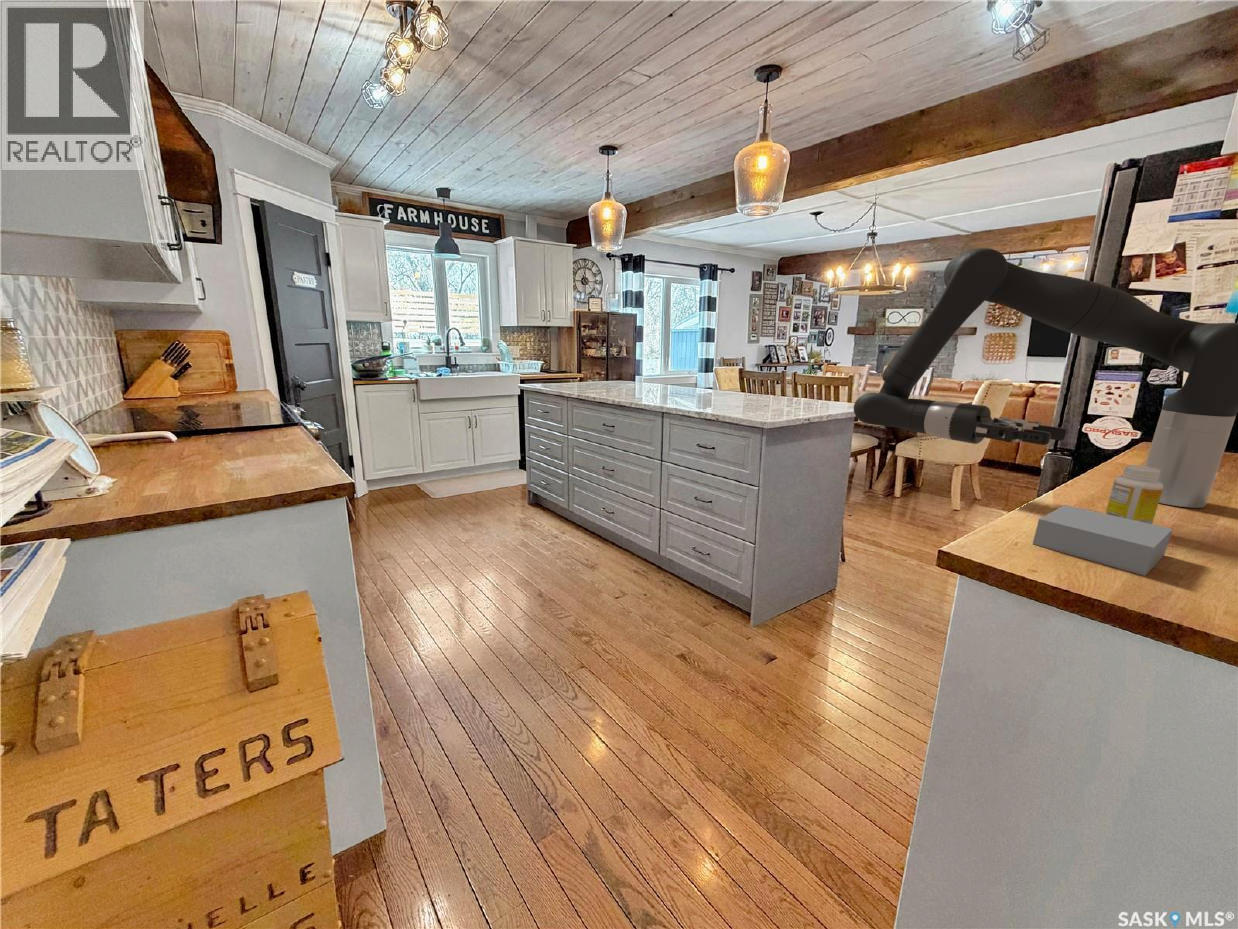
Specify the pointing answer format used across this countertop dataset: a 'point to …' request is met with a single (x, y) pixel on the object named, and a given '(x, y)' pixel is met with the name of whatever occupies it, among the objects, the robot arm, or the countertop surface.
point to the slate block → (1103, 538)
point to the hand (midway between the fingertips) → (1057, 436)
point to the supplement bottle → (1136, 494)
